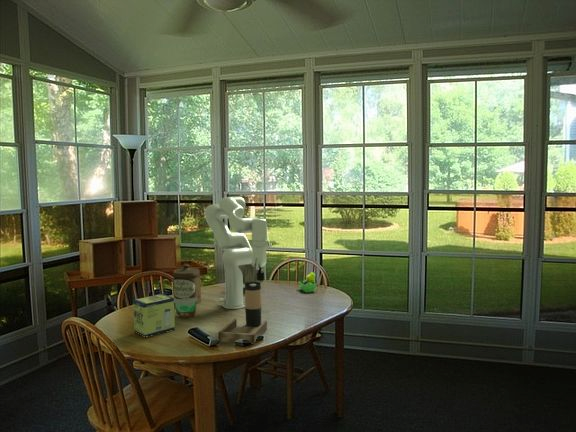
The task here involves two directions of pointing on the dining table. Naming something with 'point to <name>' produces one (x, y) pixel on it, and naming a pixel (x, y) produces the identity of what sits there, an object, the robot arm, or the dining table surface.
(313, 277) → the fruit basket
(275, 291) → the dining table surface
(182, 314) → the food container
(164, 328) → the protein box
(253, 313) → the travel mug
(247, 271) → the tabletop clock
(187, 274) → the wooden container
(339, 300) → the dining table surface
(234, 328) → the tray
